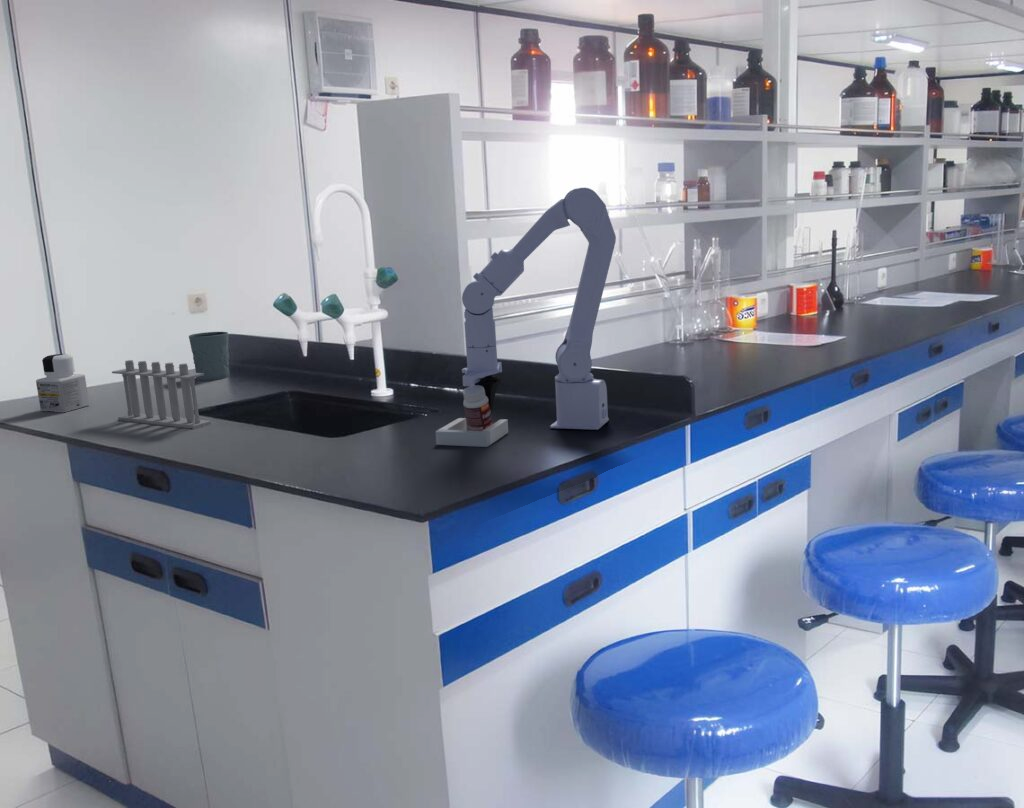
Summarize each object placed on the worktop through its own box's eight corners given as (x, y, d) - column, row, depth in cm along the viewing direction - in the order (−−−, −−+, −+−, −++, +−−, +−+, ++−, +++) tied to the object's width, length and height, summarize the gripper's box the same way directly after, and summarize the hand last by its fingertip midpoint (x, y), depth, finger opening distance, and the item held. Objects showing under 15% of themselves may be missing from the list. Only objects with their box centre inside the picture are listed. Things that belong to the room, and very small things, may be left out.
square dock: (508, 432, 178) (507, 419, 177) (487, 446, 168) (486, 433, 168) (459, 430, 181) (458, 418, 181) (436, 444, 172) (435, 431, 171)
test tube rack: (211, 424, 200) (203, 362, 197) (194, 429, 196) (186, 366, 194) (135, 416, 213) (127, 358, 210) (118, 420, 209) (109, 361, 207)
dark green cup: (187, 381, 254) (181, 337, 251) (205, 374, 264) (200, 331, 261) (222, 380, 252) (217, 335, 250) (239, 373, 262) (234, 330, 259)
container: (40, 411, 224) (31, 357, 221) (66, 404, 231) (57, 352, 228) (64, 412, 221) (55, 357, 218) (90, 405, 228) (82, 352, 225)
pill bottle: (490, 435, 176) (482, 395, 172) (466, 435, 177) (457, 396, 173) (496, 422, 180) (488, 383, 176) (472, 422, 181) (464, 384, 178)
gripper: (476, 339, 186) (480, 407, 188) (445, 351, 172) (450, 424, 175) (510, 339, 183) (513, 408, 186) (481, 352, 170) (485, 425, 173)
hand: (485, 416), depth 180 cm, fingers closed
